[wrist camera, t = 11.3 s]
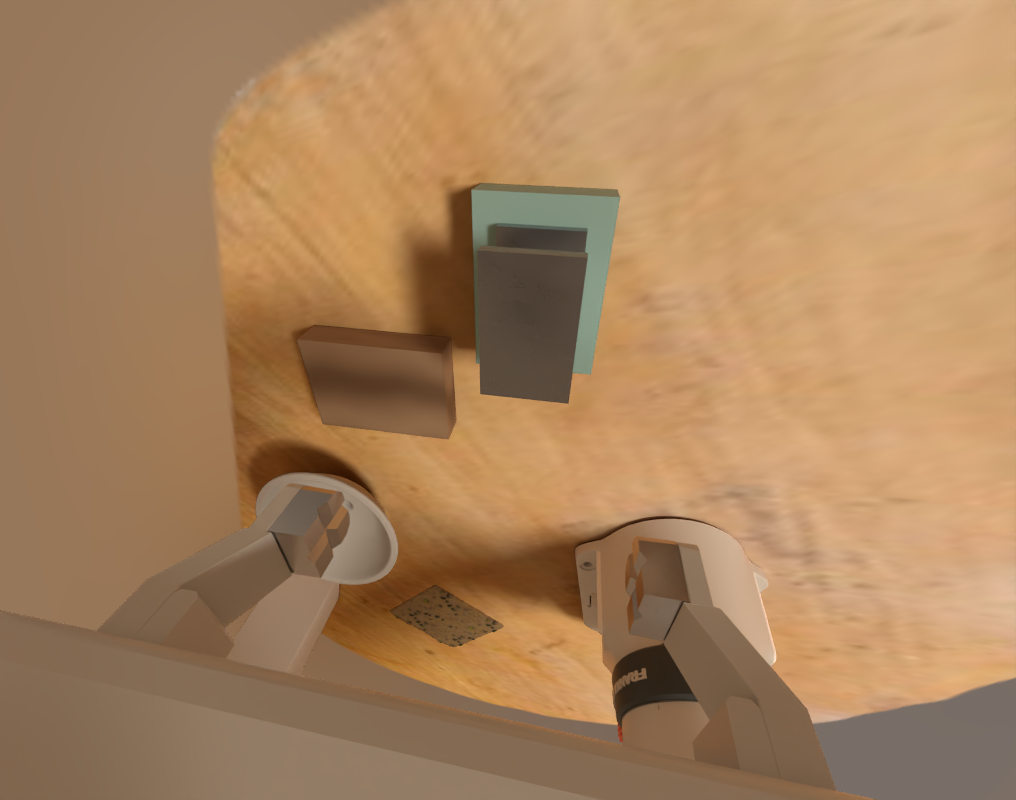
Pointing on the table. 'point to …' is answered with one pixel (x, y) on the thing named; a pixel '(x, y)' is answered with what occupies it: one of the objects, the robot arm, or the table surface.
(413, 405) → the stand
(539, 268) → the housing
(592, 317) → the stand
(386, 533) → the dish
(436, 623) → the speckled grey square slab
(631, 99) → the table surface
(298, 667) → the milk carton
